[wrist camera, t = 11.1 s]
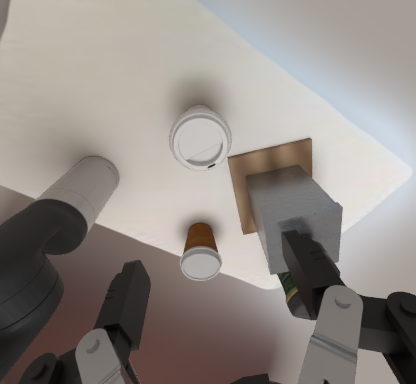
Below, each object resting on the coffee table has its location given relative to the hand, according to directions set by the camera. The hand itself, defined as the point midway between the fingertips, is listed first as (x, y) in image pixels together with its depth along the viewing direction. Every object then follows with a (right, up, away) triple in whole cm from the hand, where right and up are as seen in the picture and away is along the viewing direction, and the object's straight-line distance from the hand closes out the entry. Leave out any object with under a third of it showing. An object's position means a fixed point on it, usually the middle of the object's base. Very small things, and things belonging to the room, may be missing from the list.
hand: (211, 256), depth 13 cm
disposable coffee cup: (-2, -7, +48) cm, 49 cm away
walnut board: (+15, +4, +42) cm, 45 cm away
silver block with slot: (+16, +2, +42) cm, 45 cm away
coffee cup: (-2, +18, +33) cm, 38 cm away
